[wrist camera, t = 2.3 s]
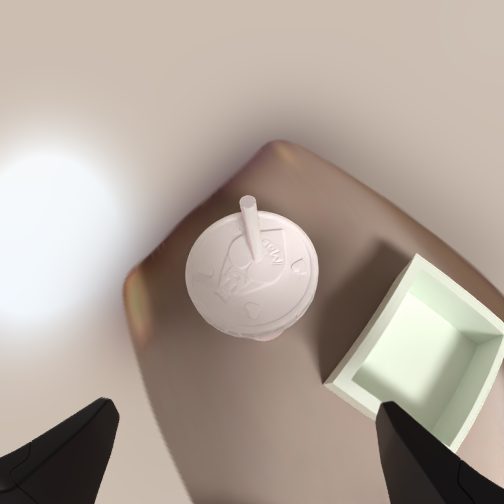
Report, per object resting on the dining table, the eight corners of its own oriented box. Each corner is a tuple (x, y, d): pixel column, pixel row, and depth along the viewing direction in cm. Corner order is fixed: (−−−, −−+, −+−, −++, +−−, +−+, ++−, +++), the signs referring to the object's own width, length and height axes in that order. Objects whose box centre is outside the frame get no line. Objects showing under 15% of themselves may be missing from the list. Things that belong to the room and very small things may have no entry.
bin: (422, 452, 16) (449, 461, 12) (322, 384, 19) (332, 382, 15) (482, 343, 19) (512, 330, 15) (396, 277, 22) (416, 253, 18)
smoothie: (322, 312, 22) (368, 202, 9) (267, 376, 20) (240, 352, 8) (260, 263, 24) (234, 127, 12) (205, 321, 23) (116, 227, 10)
